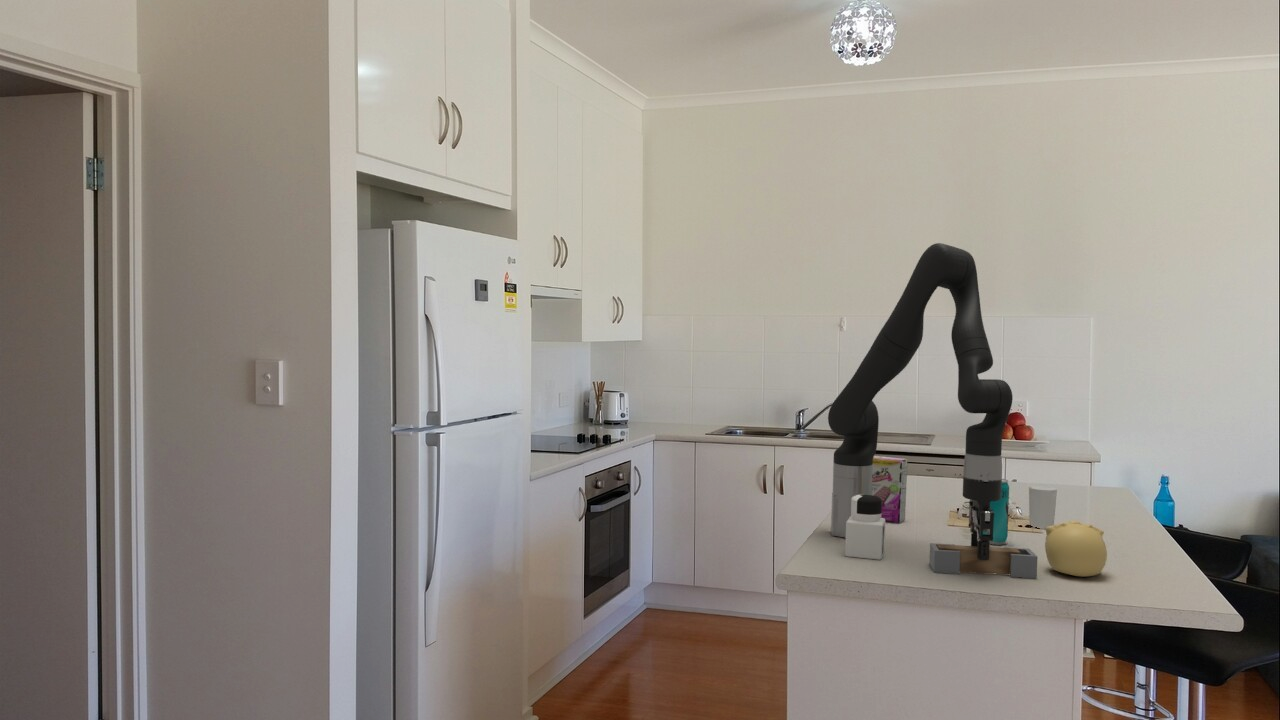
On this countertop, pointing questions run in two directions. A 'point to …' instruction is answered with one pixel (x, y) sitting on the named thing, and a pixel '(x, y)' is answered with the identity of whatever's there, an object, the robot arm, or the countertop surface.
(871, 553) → the container
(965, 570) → the brown wooden bar
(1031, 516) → the drinking glass
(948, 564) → the endcap
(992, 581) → the countertop surface
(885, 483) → the candy bar box
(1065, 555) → the sculpture
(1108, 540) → the countertop surface
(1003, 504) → the beverage can
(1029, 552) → the endcap
